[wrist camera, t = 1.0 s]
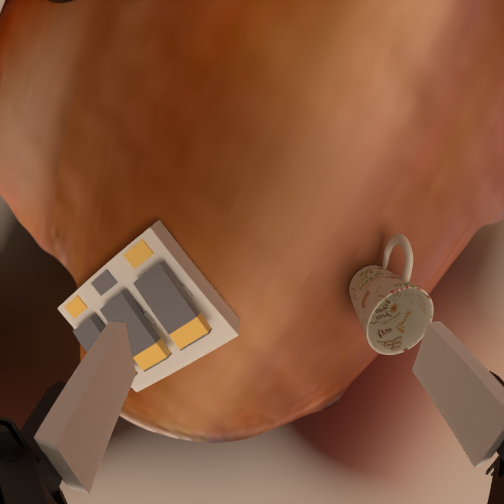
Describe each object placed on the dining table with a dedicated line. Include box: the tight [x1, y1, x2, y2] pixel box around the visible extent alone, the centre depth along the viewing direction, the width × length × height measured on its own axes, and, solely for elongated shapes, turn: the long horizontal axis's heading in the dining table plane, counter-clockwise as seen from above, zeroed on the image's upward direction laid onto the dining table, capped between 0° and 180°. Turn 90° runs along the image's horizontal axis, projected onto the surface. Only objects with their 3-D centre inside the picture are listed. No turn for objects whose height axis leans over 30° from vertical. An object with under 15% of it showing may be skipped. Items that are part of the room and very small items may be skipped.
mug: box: [349, 233, 433, 355], centre depth 34 cm, size 8×13×10 cm, turn 176°
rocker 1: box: [73, 314, 138, 376], centre depth 34 cm, size 9×4×1 cm, turn 35°
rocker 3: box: [133, 261, 212, 351], centre depth 33 cm, size 9×4×1 cm, turn 35°
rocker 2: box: [100, 290, 172, 372], centre depth 34 cm, size 9×4×1 cm, turn 35°
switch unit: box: [58, 220, 239, 392], centre depth 37 cm, size 16×18×5 cm
